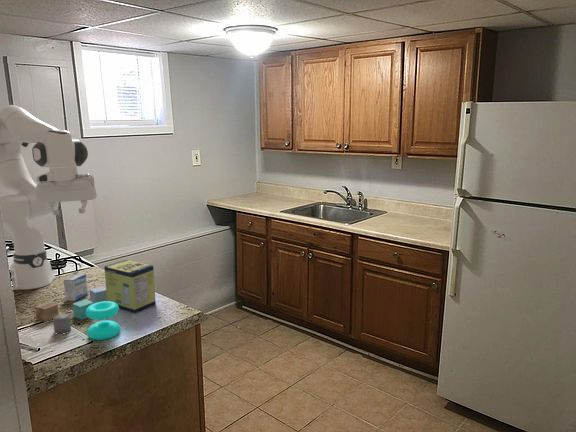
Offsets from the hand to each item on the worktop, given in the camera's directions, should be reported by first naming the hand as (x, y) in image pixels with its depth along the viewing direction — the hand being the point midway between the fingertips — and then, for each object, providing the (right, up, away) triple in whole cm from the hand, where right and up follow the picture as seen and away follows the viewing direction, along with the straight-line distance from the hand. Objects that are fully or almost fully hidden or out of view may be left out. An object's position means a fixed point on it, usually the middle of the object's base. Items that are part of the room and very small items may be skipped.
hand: (69, 214), depth 165 cm
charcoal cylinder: (+4, -39, -13) cm, 41 cm away
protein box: (+19, -35, +10) cm, 41 cm away
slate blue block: (+6, -34, +13) cm, 37 cm away
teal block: (+5, -37, 0) cm, 37 cm away
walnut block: (-6, -37, -3) cm, 38 cm away
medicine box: (-5, -33, +17) cm, 38 cm away
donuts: (+18, -40, -15) cm, 46 cm away
